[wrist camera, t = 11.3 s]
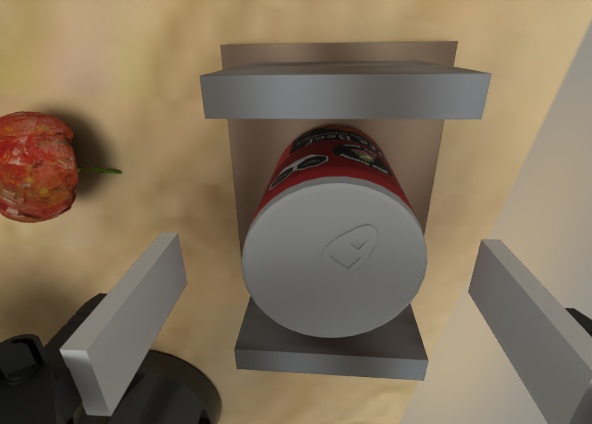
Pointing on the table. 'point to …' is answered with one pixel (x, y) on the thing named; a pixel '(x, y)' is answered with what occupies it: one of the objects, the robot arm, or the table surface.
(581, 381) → the robot arm
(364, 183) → the canned food
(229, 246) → the table surface
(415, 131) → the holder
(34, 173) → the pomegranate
